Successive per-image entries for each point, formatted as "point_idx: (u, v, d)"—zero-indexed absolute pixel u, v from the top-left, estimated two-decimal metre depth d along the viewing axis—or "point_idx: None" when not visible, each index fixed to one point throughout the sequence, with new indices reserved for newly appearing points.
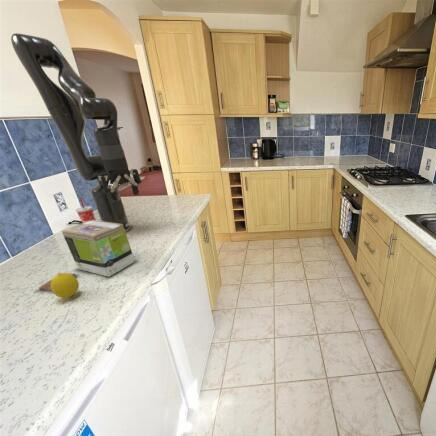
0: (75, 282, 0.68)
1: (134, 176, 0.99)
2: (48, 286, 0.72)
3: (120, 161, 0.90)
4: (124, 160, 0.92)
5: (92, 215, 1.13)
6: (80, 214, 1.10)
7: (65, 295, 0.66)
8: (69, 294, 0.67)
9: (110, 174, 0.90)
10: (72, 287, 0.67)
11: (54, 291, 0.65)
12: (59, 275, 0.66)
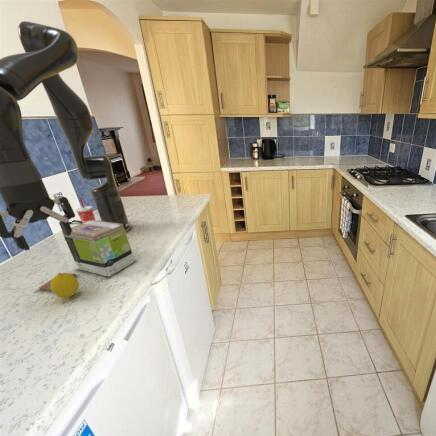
0: (75, 282, 0.68)
1: (63, 207, 0.65)
2: (48, 286, 0.72)
3: (29, 188, 0.56)
4: (38, 185, 0.57)
5: (92, 215, 1.13)
6: (80, 214, 1.10)
7: (65, 295, 0.66)
8: (69, 294, 0.67)
9: (12, 209, 0.56)
10: (72, 287, 0.67)
11: (54, 291, 0.65)
12: (59, 275, 0.66)
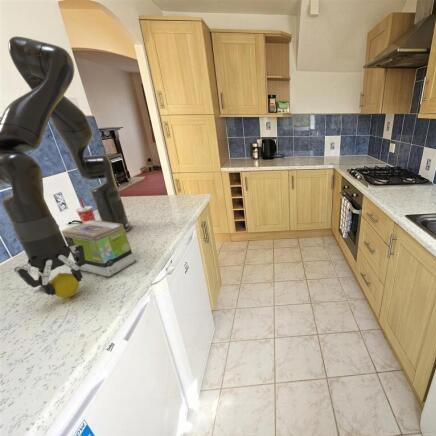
0: (75, 282, 0.68)
1: (76, 255, 0.69)
2: None
3: (49, 241, 0.60)
4: (56, 237, 0.62)
5: (92, 215, 1.13)
6: (80, 214, 1.10)
7: (65, 295, 0.66)
8: (69, 294, 0.67)
9: (33, 261, 0.60)
10: (72, 287, 0.67)
11: (54, 291, 0.65)
12: (59, 275, 0.66)
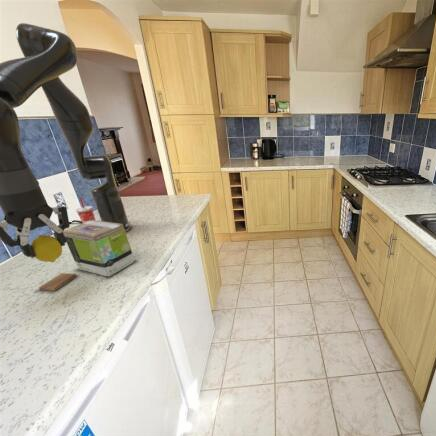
0: (58, 245, 0.63)
1: (59, 217, 0.65)
2: (48, 286, 0.72)
3: (26, 196, 0.56)
4: (35, 194, 0.57)
5: (92, 215, 1.13)
6: (80, 214, 1.10)
7: (47, 259, 0.62)
8: (51, 258, 0.63)
9: (10, 218, 0.56)
10: (55, 250, 0.63)
11: None
12: (40, 237, 0.61)
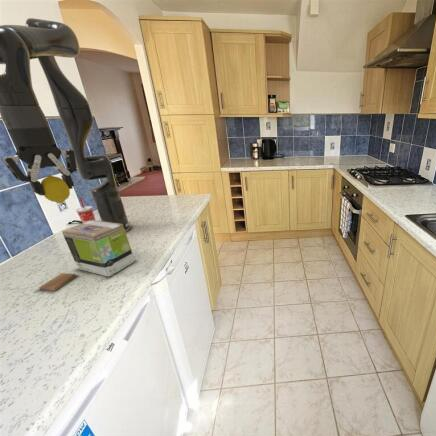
0: (66, 187, 0.66)
1: (67, 160, 0.68)
2: (48, 286, 0.72)
3: (37, 132, 0.58)
4: (45, 131, 0.60)
5: (92, 215, 1.13)
6: (80, 214, 1.10)
7: (55, 198, 0.65)
8: (59, 198, 0.66)
9: (21, 153, 0.59)
10: (63, 190, 0.66)
11: None
12: (49, 176, 0.64)
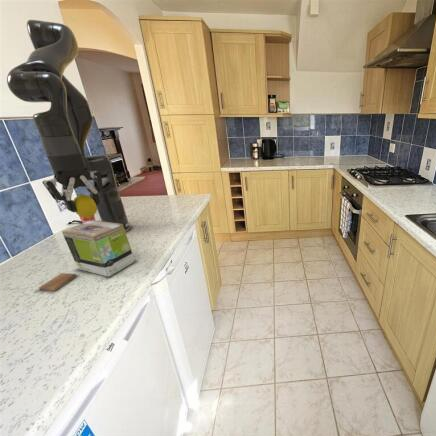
0: (94, 204, 0.75)
1: (95, 180, 0.77)
2: (48, 286, 0.72)
3: (72, 158, 0.68)
4: (79, 157, 0.69)
5: None
6: None
7: (85, 214, 0.74)
8: (89, 213, 0.75)
9: (59, 176, 0.68)
10: (92, 207, 0.75)
11: None
12: (80, 195, 0.73)
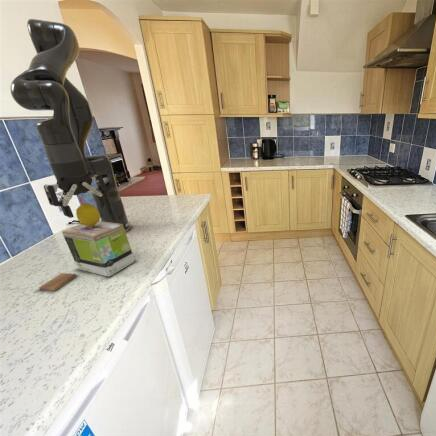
0: (97, 212, 0.77)
1: (98, 184, 0.78)
2: (48, 286, 0.72)
3: (75, 165, 0.68)
4: (81, 164, 0.70)
5: None
6: None
7: (89, 222, 0.75)
8: (92, 222, 0.76)
9: (62, 182, 0.68)
10: (95, 216, 0.76)
11: (79, 218, 0.74)
12: (84, 204, 0.74)
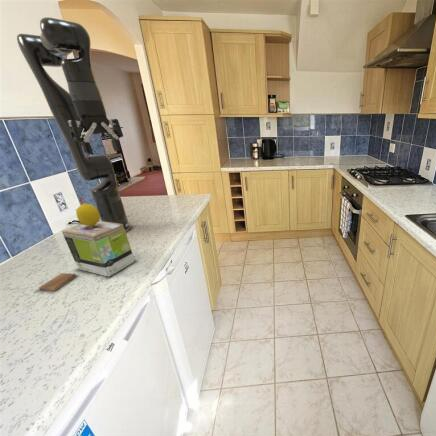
0: (97, 212, 0.77)
1: (114, 128, 0.84)
2: (48, 286, 0.72)
3: (95, 104, 0.75)
4: (100, 104, 0.76)
5: None
6: None
7: (89, 222, 0.75)
8: (92, 222, 0.76)
9: (83, 119, 0.75)
10: (95, 216, 0.76)
11: (79, 218, 0.74)
12: (84, 204, 0.74)
